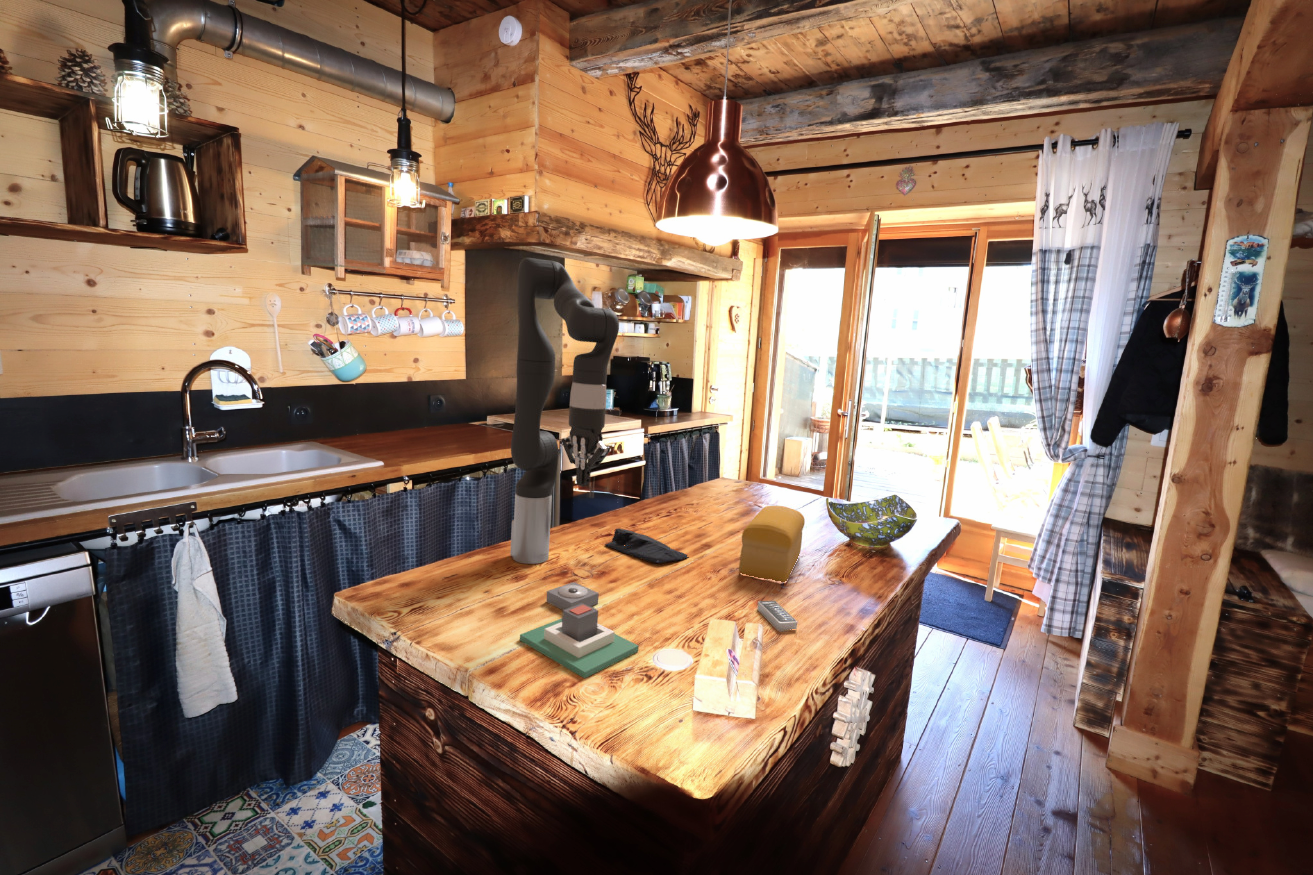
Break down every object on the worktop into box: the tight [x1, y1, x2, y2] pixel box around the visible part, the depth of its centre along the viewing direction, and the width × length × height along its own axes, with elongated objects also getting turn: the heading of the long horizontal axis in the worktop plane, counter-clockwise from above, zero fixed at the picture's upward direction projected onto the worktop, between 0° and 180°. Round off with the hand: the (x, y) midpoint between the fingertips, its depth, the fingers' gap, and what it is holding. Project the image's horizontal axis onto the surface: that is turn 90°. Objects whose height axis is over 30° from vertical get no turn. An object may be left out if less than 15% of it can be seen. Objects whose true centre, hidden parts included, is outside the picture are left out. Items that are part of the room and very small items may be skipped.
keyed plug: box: [561, 603, 599, 642], centre depth 119 cm, size 4×6×6 cm
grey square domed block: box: [545, 581, 600, 611], centre depth 137 cm, size 8×8×3 cm
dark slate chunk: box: [604, 528, 689, 564], centre depth 174 cm, size 15×22×5 cm
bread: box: [738, 505, 806, 582], centre depth 170 cm, size 24×13×15 cm, turn 159°
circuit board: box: [519, 616, 640, 679], centre depth 119 cm, size 18×14×3 cm
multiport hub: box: [756, 600, 798, 632], centre depth 138 cm, size 4×11×2 cm, turn 16°
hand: (582, 485), depth 133 cm, fingers closed
